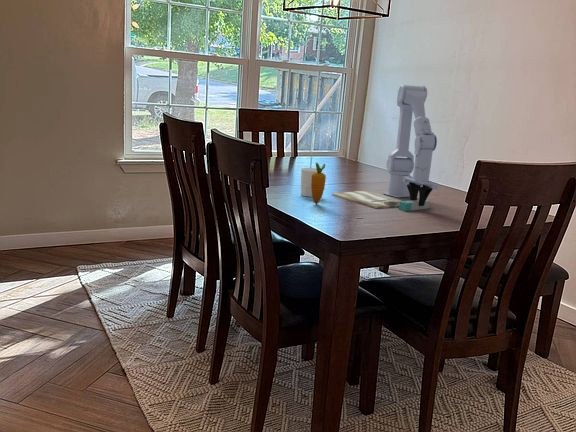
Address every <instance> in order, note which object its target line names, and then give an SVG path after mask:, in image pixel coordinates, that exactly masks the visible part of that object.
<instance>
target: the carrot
mask: <svg viewBox="0 0 576 432" xmlns="http://www.w3.org/2000/svg"><path fill="white" fill-rule="evenodd" d="M315 168H316V170H317V172H315V173H313V174H312V181H311V189H312V199H313V202H314V204H315V205H318V204H319V202H320V201H321V199H322V197H323V194H324V191H325V186H326V180H327V179H326V178H327V177H326V174H325V173H324V172H323V170H324V169H326V163H323V165H322V167H321V166H320V163H318V162H315ZM321 172H322V173H321Z"/></svg>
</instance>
